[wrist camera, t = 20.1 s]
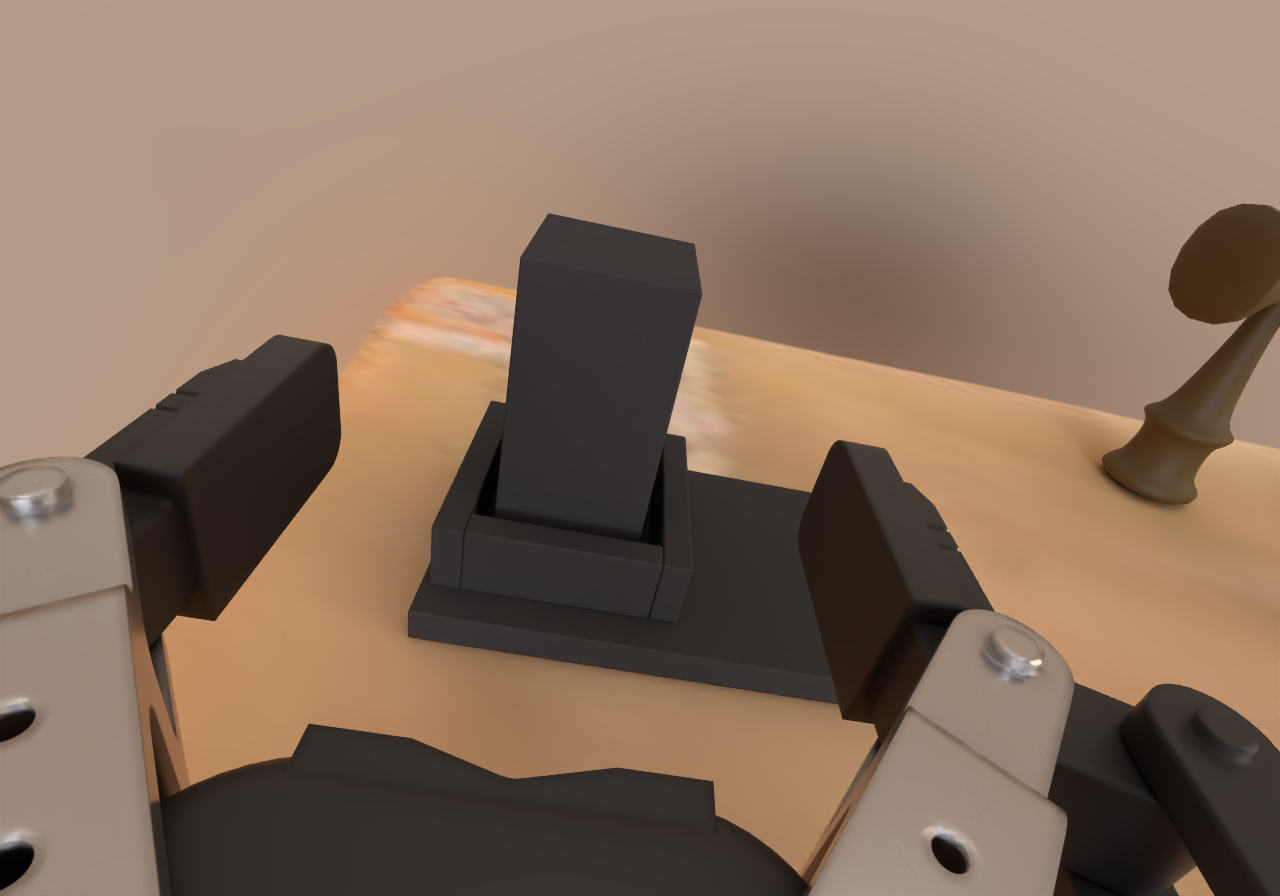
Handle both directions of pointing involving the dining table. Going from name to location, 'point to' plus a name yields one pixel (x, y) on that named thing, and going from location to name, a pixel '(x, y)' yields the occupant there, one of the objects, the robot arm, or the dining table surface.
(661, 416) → the post
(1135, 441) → the kendama
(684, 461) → the base pad
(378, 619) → the dining table surface
